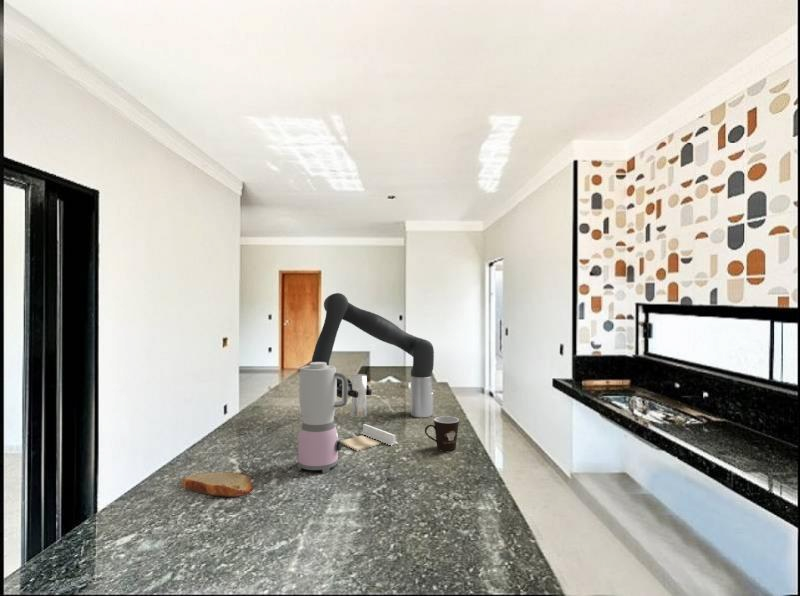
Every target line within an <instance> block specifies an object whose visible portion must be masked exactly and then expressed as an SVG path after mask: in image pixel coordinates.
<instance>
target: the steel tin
mask: <svg viewBox="0 0 800 596" xmlns="http://www.w3.org/2000/svg"><path fill="white" fill-rule="evenodd" d="M351 382H352V390H355V391H357V392H358V397H357V398H354V397H351V416H352V417H354V418H364V417H366V416H367V412H368V410H367V409H368V406H367V405H368V403H367V402H368V401H367V400H368V395H367V385H368V374H364V373H357V374H352V376H351Z"/></svg>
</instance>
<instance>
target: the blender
mask: <svg viewBox="0 0 800 596" xmlns="http://www.w3.org/2000/svg"><path fill="white" fill-rule="evenodd" d="M347 378H348V377H347V376H346V375H345V374H343V373H341V372H337V368H336V366H334V365H331V364H329V365H327V363H326V362H312V361H311V362H310V363H309V365H305V366H301V367H299V382H298V383H299V386H298V388H299V408H300V412H301V413H300V414H301V418H302V420H301V421H302V424H301V427H300V429H299V432H298V436H297V455H298V459H297V467H298V470H299V471H301V470H302V469H303V470H307V471H321V473H322V474H326V473H329V472H330V469H331V468H333V467H335V466H338V464H339V451H341V450H342V447H343V445H342V443H341V442H340V441H341V440H339V434H338V429H337V427H336V424H335V421H334V420H335V413H336V408H342V407H345V406H346V405H347V403H348V399H349V397H348V381H347ZM337 379H341V380H342V398H341V400H339V401H337Z"/></svg>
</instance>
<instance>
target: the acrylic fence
mask: <svg viewBox="0 0 800 596" xmlns="http://www.w3.org/2000/svg"><path fill="white" fill-rule="evenodd" d="M362 434H363V435H362ZM360 435H362V436H364V435H366V436H365V437H367V436H368V437H367V438H369V437H371V438H370V439H372V438H373V439H372V440H374V439H376V440H375V441H377V440H379V441H381V442H380V443H382V442H383V443H382V444H384V443H386V444H385V445H387V444H388V445H387V446H389V445H391V446H390V447H393V446H392V445H394V446H396V445H395V444H399V442H398V441H397V439H396V434H393V433H391V432H388V431H385V430H383V429H380V428H377V427H374V426H372V425H369V424H366V423H364V424H362V431H360ZM379 441H378V442H379Z"/></svg>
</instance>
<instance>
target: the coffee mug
mask: <svg viewBox="0 0 800 596" xmlns="http://www.w3.org/2000/svg"><path fill="white" fill-rule="evenodd" d="M433 421H434V422H433V423H434V425H433V424H429V425H427V426H425V428H424V434H425V435H426V436H427V438H429V439H431V440H432V441H433V442H434V441H435V443H436V449H437V448H438V449H439V450H438V449H437V450H438V451H440V450H442V451H441V452H444V451H451V452H454V451H456V450H457V441H458V433H459V432H458V431H459V425H460V419H459V418H458V417H455V416H454V417H453V416H448V415H446V416H443V415H441V416H437V417H434V419H433ZM431 427H432V428H433V429H434V433H435V438H433V437H432V436H430V435H429V434H428V433H427V430H428V428H431ZM455 449H456V450H455ZM453 450H454V451H453Z"/></svg>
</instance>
